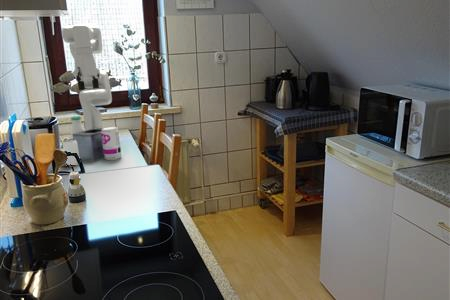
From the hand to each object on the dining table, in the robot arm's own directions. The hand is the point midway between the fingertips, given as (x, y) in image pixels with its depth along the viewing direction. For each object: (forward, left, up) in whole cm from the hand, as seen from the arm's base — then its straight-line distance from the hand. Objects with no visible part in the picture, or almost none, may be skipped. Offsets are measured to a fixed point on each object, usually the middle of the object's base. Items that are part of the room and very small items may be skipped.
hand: (89, 89), depth 190 cm
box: (-4, +3, -34) cm, 35 cm away
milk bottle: (-16, +4, -34) cm, 38 cm away
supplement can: (+8, +2, -34) cm, 35 cm away
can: (-4, -13, -34) cm, 37 cm away
